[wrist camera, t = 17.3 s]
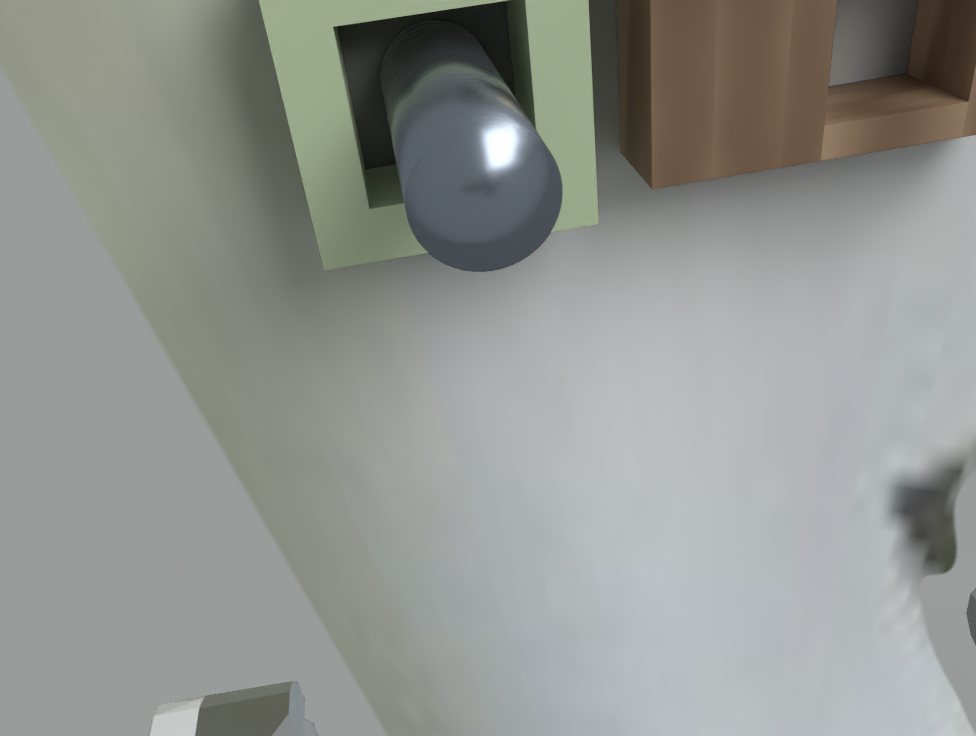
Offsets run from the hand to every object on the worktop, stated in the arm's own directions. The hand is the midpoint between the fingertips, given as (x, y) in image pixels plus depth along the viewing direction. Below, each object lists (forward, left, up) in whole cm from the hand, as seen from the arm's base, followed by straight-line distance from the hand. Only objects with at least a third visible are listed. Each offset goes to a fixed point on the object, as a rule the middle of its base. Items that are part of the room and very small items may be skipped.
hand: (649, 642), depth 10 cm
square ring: (0, 0, -26) cm, 26 cm away
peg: (0, 0, -26) cm, 26 cm away
